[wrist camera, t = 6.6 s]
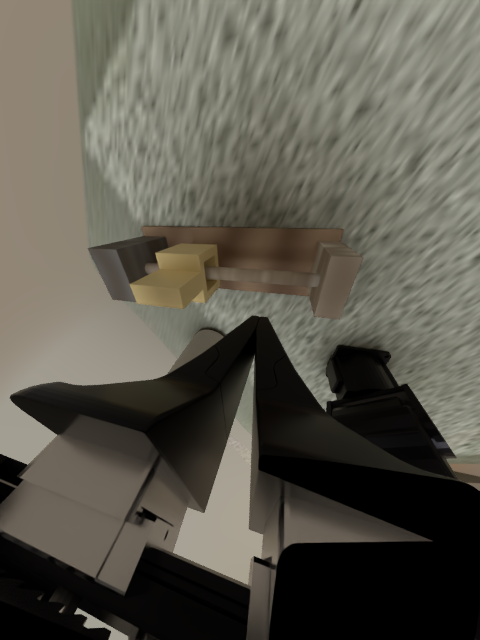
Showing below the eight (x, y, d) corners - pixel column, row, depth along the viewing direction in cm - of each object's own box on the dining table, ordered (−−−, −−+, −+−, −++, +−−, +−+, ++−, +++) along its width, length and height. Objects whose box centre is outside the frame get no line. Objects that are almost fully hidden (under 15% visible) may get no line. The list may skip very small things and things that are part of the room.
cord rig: (341, 228, 16) (376, 244, 10) (322, 294, 20) (338, 336, 14) (145, 226, 21) (81, 235, 14) (161, 280, 25) (116, 307, 18)
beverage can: (191, 325, 28) (141, 388, 19) (228, 328, 27) (194, 398, 17) (200, 353, 32) (161, 418, 22) (232, 357, 30) (206, 428, 20)
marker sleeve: (216, 244, 17) (174, 268, 11) (220, 285, 20) (187, 324, 13) (181, 243, 18) (121, 264, 12) (188, 282, 20) (143, 318, 14)
